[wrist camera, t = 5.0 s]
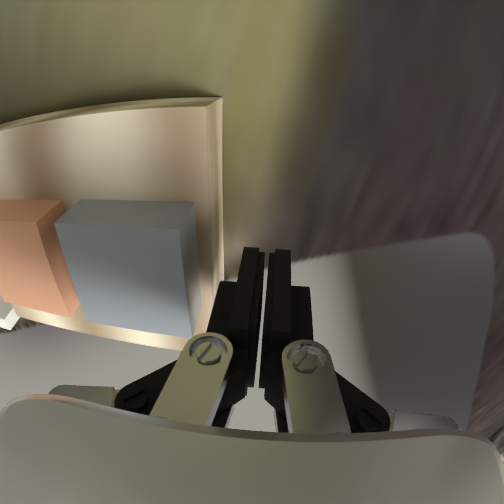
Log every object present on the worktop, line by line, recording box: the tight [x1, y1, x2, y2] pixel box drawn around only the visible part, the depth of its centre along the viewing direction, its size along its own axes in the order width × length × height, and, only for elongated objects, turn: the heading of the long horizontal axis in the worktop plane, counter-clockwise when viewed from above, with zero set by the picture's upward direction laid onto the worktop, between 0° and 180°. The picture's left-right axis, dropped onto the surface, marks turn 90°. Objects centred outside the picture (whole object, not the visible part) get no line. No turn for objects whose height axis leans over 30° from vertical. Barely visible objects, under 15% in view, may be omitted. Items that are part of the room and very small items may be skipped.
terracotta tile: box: [0, 200, 80, 318], centre depth 13 cm, size 5×5×2 cm
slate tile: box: [54, 200, 202, 338], centre depth 12 cm, size 5×5×2 cm
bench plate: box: [0, 97, 224, 351], centre depth 14 cm, size 14×12×3 cm
